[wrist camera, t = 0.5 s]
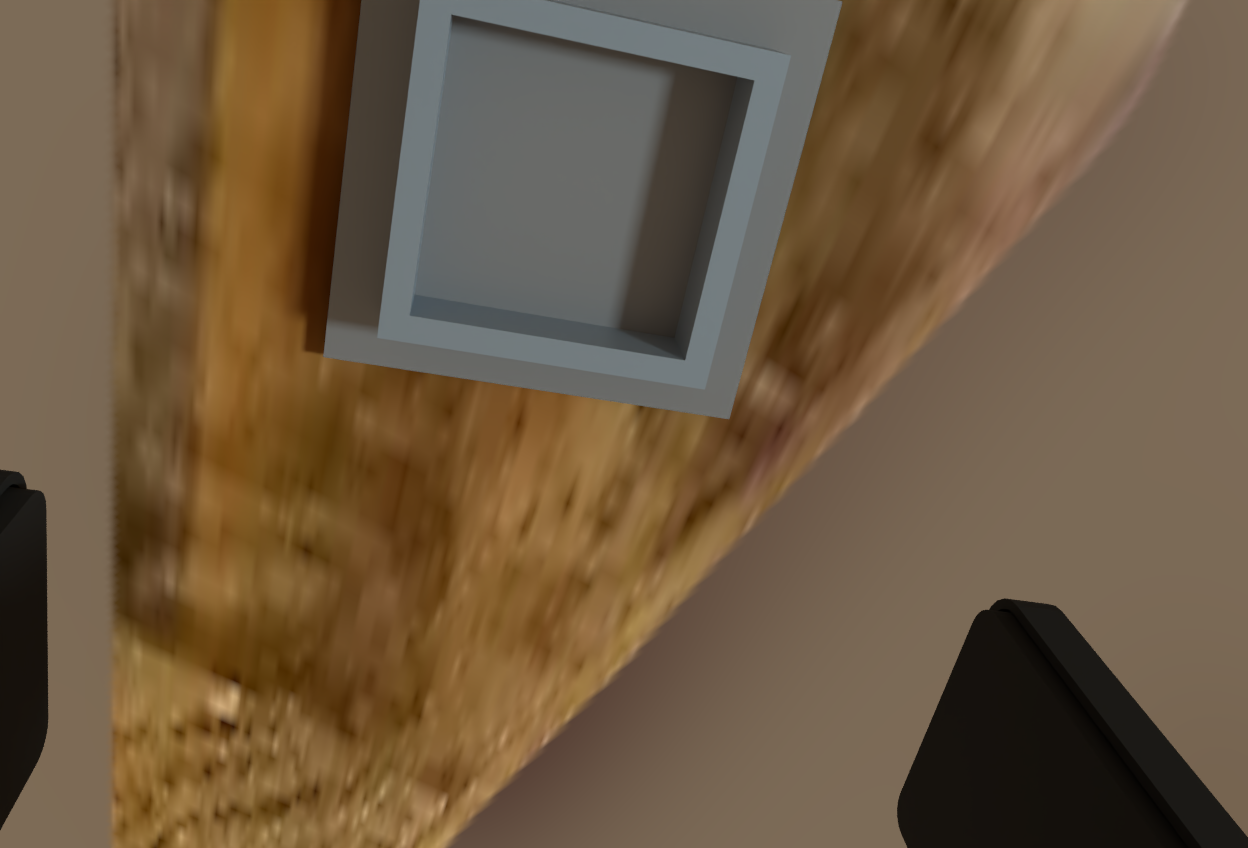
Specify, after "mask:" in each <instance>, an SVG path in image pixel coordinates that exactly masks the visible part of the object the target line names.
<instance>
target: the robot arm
mask: <svg viewBox="0 0 1248 848" xmlns="http://www.w3.org/2000/svg"><path fill="white" fill-rule="evenodd" d="M46 536H47V534H46V500H45V497H44V494H43V493H42V492H41V491H38V490H29V489H27V488H26V483H25V480H24V477H23V476H22V475H21V474H20V473H19V472H13V471H6V470H0V830H1V828H2V826H3V824H4V822H5V820H6V818H7V817H8V815H9V813H10V811H11V809H12V808H13V806H14V804H15V802H16V800H17V799H18V797H19V795H20V793H21V791H22V790H23V788H24V786H25V784H26V782H27V780H28V779H29V777H30V775H31V773H32V771H33V769H34V768H35V766H36V764H37V762H38V760H39V757H40V755H41V752H42V749H43V746H44V743H45V739H46V734H47V728H48V647H47V646H48V644H47V643H48V642H47V537H46ZM897 817H898V824H899V828H900V831H901V834H902V836H903V838H904V841H905V843H906V845H907V848H1248V837H1247V836H1246V835H1245V834H1244V832H1243V831H1242V830H1241V829H1240V827H1239V826H1238V825H1237V824H1236V823H1235V821H1234V820H1233V819H1232V818H1231V816H1230V815H1229V814H1228V813H1227V812H1226V811H1225V809H1224V808H1223V807H1222V805H1221V804H1220V803H1219V802H1218V801H1217V799H1216V798H1215V797H1214V796H1213V795H1212V793H1211V792H1210V791H1209V790H1208V788H1207V787H1206V786H1205V785H1204V784H1203V782H1202V781H1201V780H1200V779H1199V777H1198V776H1197V775H1196V774H1195V773H1194V771H1193V770H1192V769H1191V768H1190V766H1189V765H1188V764H1187V763H1186V762H1185V760H1184V759H1183V758H1182V757H1181V756H1180V754H1179V753H1178V752H1177V751H1176V749H1175V748H1174V747H1173V746H1172V745H1171V744H1170V742H1169V741H1168V740H1167V739H1166V737H1165V736H1164V735H1163V734H1162V732H1161V731H1160V730H1159V729H1158V728H1157V726H1156V725H1155V724H1154V723H1153V722H1152V720H1151V719H1150V718H1149V717H1148V715H1147V714H1146V713H1145V712H1144V711H1143V709H1142V708H1141V707H1140V706H1139V704H1138V703H1137V702H1136V701H1135V700H1134V698H1133V697H1132V696H1131V695H1130V694H1129V692H1128V691H1127V690H1126V689H1125V687H1124V686H1123V685H1122V684H1121V683H1120V681H1119V680H1118V679H1117V678H1116V676H1115V675H1114V674H1113V673H1112V672H1111V670H1109V668H1108V667H1107V666H1106V665H1105V663H1104V662H1103V661H1102V660H1101V658H1100V657H1099V656H1098V655H1097V653H1096V652H1095V651H1094V650H1093V649H1092V647H1091V646H1090V645H1089V644H1088V642H1087V641H1086V640H1085V639H1084V638H1083V636H1082V635H1081V634H1080V633H1079V632H1078V631H1077V629H1076V628H1075V627H1074V625H1073V624H1072V623H1071V622H1070V621H1069V619H1068V618H1067V617H1066V616H1065V614H1064V613H1063V612H1062V611H1061V610H1060V609H1058V608H1057V607H1056V606H1054V605H1049V604H1043V603H1035V602H1028V601H1020V600H1012V599H1001V600H998V601H996V602H995V603H994V604H993V605H992V606H991V608H990V609H989V610H983V611H981V612H980V613H979V614H978V615H977V616H976V617H975V619H974V621H973V623H972V625H971V628H970V630H969V633H968V635H967V637H966V640H965V642H964V645H963V647H962V649H961V651H960V654H959V656H958V659H957V661H956V663H955V666H954V668H953V670H952V673H951V675H950V677H949V680H948V682H947V684H946V687H945V689H944V692H943V694H942V696H941V699H940V701H939V704H938V706H937V708H936V710H935V713H934V715H933V717H932V720H931V722H930V725H929V727H928V729H927V732H926V734H925V736H924V739H923V741H922V744H921V746H920V748H919V751H918V753H917V755H916V758H915V760H914V762H913V765H912V767H911V770H910V772H909V774H908V777H907V779H906V781H905V784H904V786H903V788H902V791H901V793H900V796H899V800H898V807H897Z"/></svg>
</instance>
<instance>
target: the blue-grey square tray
mask: <svg viewBox="0 0 1248 848" xmlns="http://www.w3.org/2000/svg"><path fill="white" fill-rule="evenodd" d="M841 5H842V1H837V0H361V9H360V19H359V28H358V37H357V47H356V56H355V65H354V75H353V84H352V94H351V103H350V112H349V122H348V131H347V140H346V150H345V159H344V168H343V178H342V187H341V196H340V206H339V215H338V224H337V234H336V243H335V253H334V262H333V271H332V281H331V290H330V299H329V309H328V318H327V327H326V337H325V346H324V355H323V357H327V358H333V359H340V360H346V361H353V362H359V363H366V364H372V365H379V366H386V367H392V368H399V369H405V370H412V371H418V372H425V373H431V374H438V375H444V376H451V377H457V378H464V379H470V380H477V381H483V382H490V383H496V384H503V385H510V386H516V387H523V388H529V389H536V390H542V391H549V392H555V393H562V394H568V395H575V396H581V397H588V398H594V399H601V400H607V401H614V402H620V403H627V404H634V405H640V406H647V407H653V408H660V409H666V410H673V411H679V412H686V413H692V414H699V415H705V416H712V417H718V418H725V419H729V418H730V414H731V411H732V407H733V403H734V399H735V396H736V392H737V388H738V385H739V381H740V377H741V374H742V370H743V366H744V363H745V359H746V355H747V352H748V348H749V344H750V340H751V337H752V333H753V329H754V326H755V322H756V318H757V315H758V311H759V307H760V304H761V300H762V296H763V293H764V289H765V285H766V281H767V278H768V274H769V270H770V267H771V263H772V259H773V256H774V252H775V248H776V245H777V241H778V237H779V234H780V230H781V226H782V222H783V219H784V215H785V211H786V208H787V204H788V200H789V197H790V193H791V189H792V186H793V182H794V178H795V175H796V171H797V167H798V164H799V160H800V156H801V152H802V149H803V145H804V141H805V138H806V134H807V130H808V127H809V123H810V119H811V116H812V112H813V108H814V105H815V101H816V97H817V93H818V90H819V86H820V82H821V79H822V75H823V71H824V68H825V64H826V60H827V57H828V53H829V49H830V46H831V42H832V38H833V34H834V31H835V27H836V23H837V20H838V16H839V12H840V9H841Z"/></svg>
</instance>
